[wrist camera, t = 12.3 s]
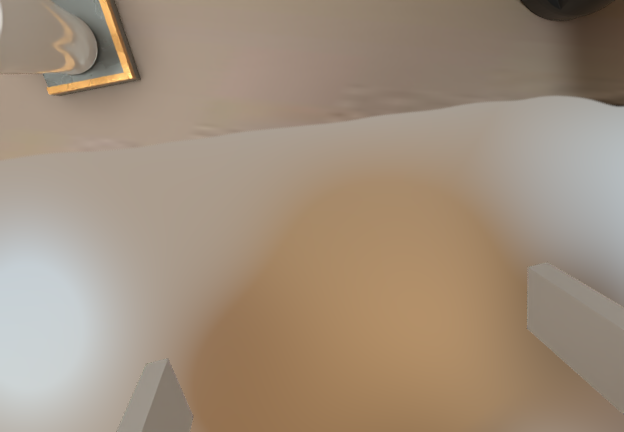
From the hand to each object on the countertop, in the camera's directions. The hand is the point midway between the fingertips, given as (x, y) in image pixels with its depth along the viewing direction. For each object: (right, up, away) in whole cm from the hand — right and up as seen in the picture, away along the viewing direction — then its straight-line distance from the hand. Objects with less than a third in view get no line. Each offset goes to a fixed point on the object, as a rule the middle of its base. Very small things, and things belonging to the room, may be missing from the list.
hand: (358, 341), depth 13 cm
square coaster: (-24, +21, +22) cm, 39 cm away
